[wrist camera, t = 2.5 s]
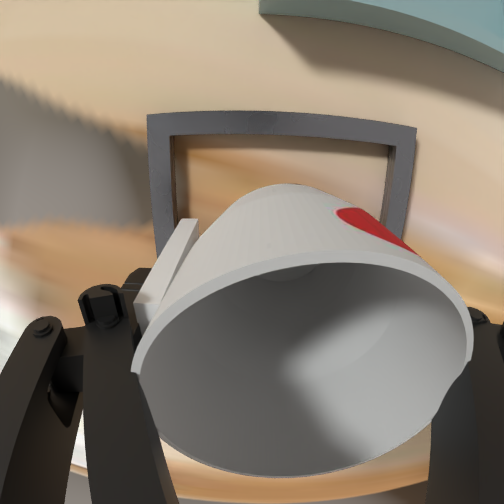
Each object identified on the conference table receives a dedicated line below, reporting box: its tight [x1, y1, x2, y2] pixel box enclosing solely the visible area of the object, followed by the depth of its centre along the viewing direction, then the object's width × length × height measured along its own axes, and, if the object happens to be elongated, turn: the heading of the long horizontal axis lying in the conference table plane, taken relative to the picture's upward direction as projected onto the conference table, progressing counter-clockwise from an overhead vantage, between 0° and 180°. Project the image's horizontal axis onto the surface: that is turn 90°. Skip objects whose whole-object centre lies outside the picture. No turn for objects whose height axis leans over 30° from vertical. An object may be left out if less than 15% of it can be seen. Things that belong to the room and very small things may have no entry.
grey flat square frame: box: [147, 111, 417, 259], centre depth 15 cm, size 12×12×1 cm
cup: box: [131, 184, 474, 478], centre depth 11 cm, size 8×8×10 cm
